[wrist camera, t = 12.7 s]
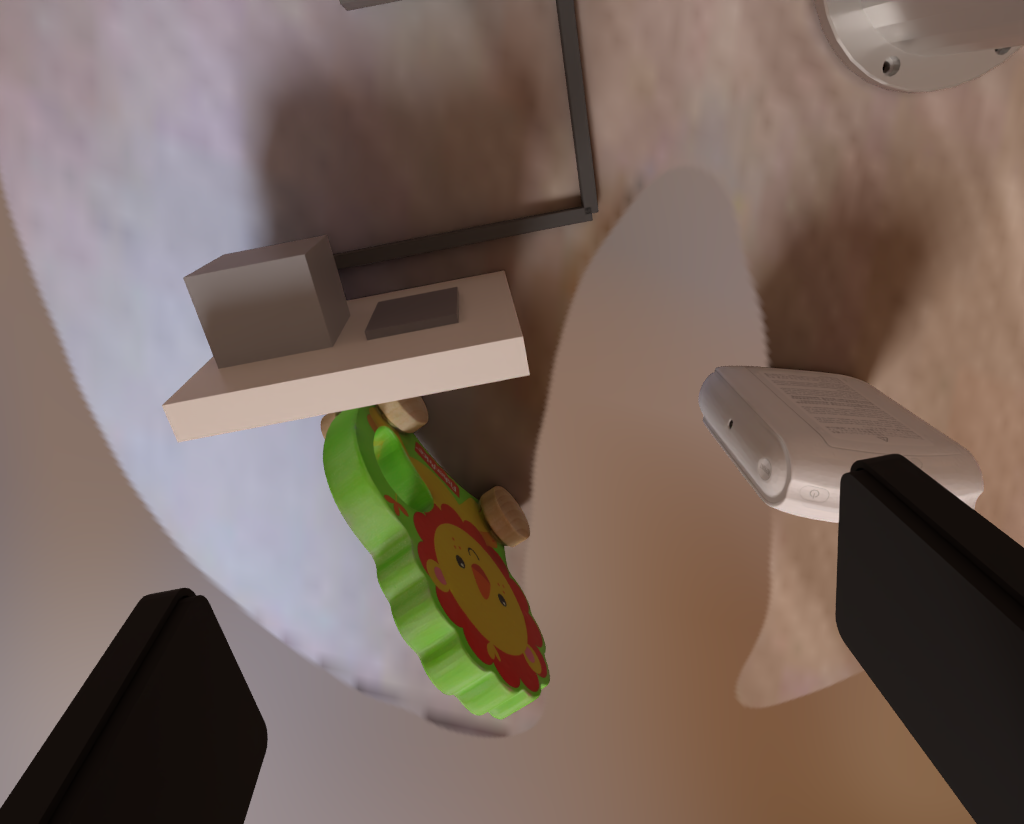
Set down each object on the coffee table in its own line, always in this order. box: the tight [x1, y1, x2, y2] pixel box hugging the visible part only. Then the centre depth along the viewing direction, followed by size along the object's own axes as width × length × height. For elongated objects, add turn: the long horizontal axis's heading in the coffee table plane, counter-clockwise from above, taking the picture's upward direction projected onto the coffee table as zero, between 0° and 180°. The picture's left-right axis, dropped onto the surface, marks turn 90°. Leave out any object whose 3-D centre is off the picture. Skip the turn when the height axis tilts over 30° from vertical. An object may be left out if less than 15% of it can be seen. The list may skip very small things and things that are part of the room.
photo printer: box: [699, 366, 984, 523], centre depth 35 cm, size 10×4×12 cm, turn 84°
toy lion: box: [321, 396, 550, 719], centre depth 34 cm, size 16×5×15 cm, turn 36°
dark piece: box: [333, 0, 598, 269], centre depth 31 cm, size 16×11×4 cm
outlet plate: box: [162, 235, 530, 442], centre depth 30 cm, size 14×6×12 cm, turn 100°
